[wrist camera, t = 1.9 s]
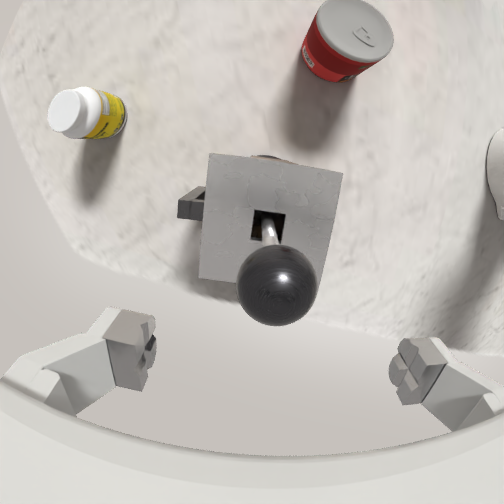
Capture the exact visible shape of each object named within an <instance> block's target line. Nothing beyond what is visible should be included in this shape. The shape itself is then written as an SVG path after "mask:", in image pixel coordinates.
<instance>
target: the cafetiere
mask: <svg viewBox="0 0 504 504" xmlns="http://www.w3.org/2000/svg"><path fill="white" fill-rule="evenodd" d="M342 176H343V173H340V172H335V171H330V170H325V169H320V168H314V167H309V166H303V165H298V164H295V163H292V162H289V161H286V160H281V159H279V158H276V157H273V156H267V155H259V156H251V157H242V156H234V155H225V154H215V153H210V154H209V163H208V172H207V181H206V187H201V186H198V187H197V188H195V189H194V190H192V191H191V192H189V193H188V194H186V195H185V196H183V197H182V198H180V199H179V200H178V213H177V218H182V219H190V220H199V221H203V222H202V234H201V246H200V260H199V275H198V278H203V279H210V280H217V281H225V282H232V283H236V279H237V275H238V272H239V269H240V267H241V265H242V263H243V262H244V261H245V259H246V258H247V257H248V256H249V255H250V254H251V253H253V252H254V251H256V250H257V249H260V248H262V247H263V242H262V238H255V237H251V231H252V224H253V216H254V210H261V211H269V212H276V213H283V214H285V215H284V221H283V227H282V233H281V239H280V241H278V242H279V245H286V246H290V247H293V248H295V249H297V250H298V251H300V252H301V253H303V254H304V255H305V256H306V257H307V258H308V259H309V261H310V262H311V264H312V265H313V267H314V269H315V272H316V275H317V281H318V289H319V285H320V281H321V277H322V272H323V268H324V264H325V260H326V255H327V251H328V247H329V242H330V238H331V233H332V228H333V224H334V219H335V214H336V209H337V204H338V198H339V193H340V188H341V182H342ZM317 292H318V290H317Z"/></svg>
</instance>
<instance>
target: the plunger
mask: <svg viewBox="0 0 504 504" xmlns="http://www.w3.org/2000/svg"><path fill="white" fill-rule="evenodd" d="M284 215H285V214H283V213H276V212H269V211H261V210H254V216H253V224H252V231H251V237H255V238H262V242H263V247H262V248H260V249H257V250H256V251H254V252H253V253H251V254H250V255H249V256H248V257H247V258H246V259H245V261H244V262H243V263H242V265H241V267H240V269H239V272H238V275H237V279H236V292H237V296H238V300H239V302H240V304H241V306H242V307H243V309H244V310H245V312H246V313H247V314H248V315H249V316H250V317H252V318H253V319H254V320H256V321H258V322H260V323H262V324H265V325H270V326H283V325H288V324H291V323H293V322H295V321H297V320H299V319H300V318H302V317H303V316H304V315H305V314H306V313H307V312H308V311H309V310H310V308H311V307H312V305H313V303H314V301H315V298H316V295H317V290H318V281H317V275H316V272H315V269H314V267H313V265H312V264H311V262H310V261H309V259H308V258H307V257H306V256H305V255H304V254H303V253H301V252H300V251H298V250H297V249H295V248H293V247H290V246H286V245H279V242H278V241H280V239H281V233H282V227H283V221H284Z"/></svg>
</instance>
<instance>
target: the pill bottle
mask: <svg viewBox="0 0 504 504" xmlns="http://www.w3.org/2000/svg"><path fill="white" fill-rule="evenodd" d="M47 117H48V123H49V125H50V127H51V128H52V129H53V130H54V131H56V132H62V133H63V134H64V135H65V136H67V137H69V138H73V139H106V138H110V137H113V136H115V135H116V134H118V133H119V132H120V131H121V129H122V128H123V126H124V124H125V122H126V118H127V108H126V105H125V103H124V101H123V100H122V99H121V98H119V97H117V96H115V95H112V94H109V93H106V92H103V91H100V90H96V89H93V88H89V87H79V88H76V89H74V90H64V91H61V92H60V93H58V94H57V95H56V96H55V97H54V99H53V100H52V102H51V103H50V106H49V109H48V115H47Z"/></svg>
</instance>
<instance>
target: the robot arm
mask: <svg viewBox="0 0 504 504" xmlns="http://www.w3.org/2000/svg"><path fill="white" fill-rule="evenodd" d="M487 177H488V183H489V187H490V190H491V193H492V195H493V197H494V200H495V202H496V207H497V214H498V218H499V219H501V220H504V128H502V129H500V130H499V131H497V132H496V134H495V135H494V136H493V138H492V140H491V143H490V146H489V150H488V155H487ZM154 329H155V318H154V316H152V315H147V314H143V313H138V312H133V311H129V310H123V309H119V308H115V307H107V308H106V309H105V310H104V312H103V313H102V314H101V315H100V316H99V318H98V319H97V320H96V322H95V323H94V324H93V325H92V326H91V328H90V329H89V330H88V331H87V333H86V334H84V333H80V334H77V335H75V336H72V337H69V338H67V339H64V340H62V341H59V342H56V343H54V344H51V345H48V346H46V347H43V348H40V349H38V350H35V351H32V352H30V353H27V354H24V355H22V356H20V357H19V358H18V359H17V360H16V361H15V363H14V364H13V365H12V366H11V367H10V369H9V370H8V371H7V372H6V373H5V374H4V376H3V377H2V378H1V379H0V504H504V386H503V385H501V384H499V383H498V382H496V381H494V380H492V379H490V378H489V377H487V376H485V375H483V374H481V373H480V372H478V371H476V370H474V369H473V368H471V367H469V366H467V365H466V364H464V363H462V362H458V361H457V359H456V358H455V357H454V356H453V355H452V353H451V352H450V351H449V349H448V348H447V347H446V346H445V344H444V343H443V342H442V341H441V340H440V338H437V337H428V338H407V339H403V340H402V341H401V342H400V344H399V346H398V352H399V353H398V354H397V355H396V356H395V357H393V359H392V361H391V363H390V365H389V378H390V380H391V382H392V384H394V385H395V386H396V387H398V388H397V391H396V393H397V395H398V396H399V398H400V400H401V402H402V405H409V404H418V403H422V405H423V406H424V407H425V408H426V409H427V410H428V411H430V412H431V413H432V414H433V415H434V416H435V417H436V418H438V419H439V420H440V421H441V422H442V423H443V424H444V425H445V426H447V427H448V428H449V429H450V430H451V431H452V432H451V433H447V434H444V435H440V436H437V437H433V438H429V439H425V440H421V441H417V442H413V443H408V444H404V445H399V446H394V447H388V448H382V449H376V450H369V451H362V452H354V453H344V454H332V455H316V456H261V455H260V456H259V455H244V454H232V453H222V452H214V451H205V450H199V449H193V448H186V447H180V446H175V445H170V444H165V443H160V442H156V441H152V440H147V439H143V438H140V437H136V436H132V435H128V434H125V433H121V432H118V431H114V430H111V429H108V428H105V427H102V426H99V425H96V424H93V423H90V422H88V421H85V420H82V419H79V418H77V416H76V414H77V413H79V412H80V411H82V410H83V409H85V408H86V407H88V406H89V405H91V404H92V403H94V402H95V401H96V400H98V399H99V398H101V397H102V396H104V395H105V394H107V393H108V392H110V391H111V390H112V389H114V388H115V387H116V386H119V387H124V388H128V389H132V390H137V391H142V390H143V387H144V385H145V383H146V380H147V377H148V373H147V369H149V368H151V367H152V365H153V363H154V360H155V355H156V338H155V337H154V335H153V332H154Z"/></svg>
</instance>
